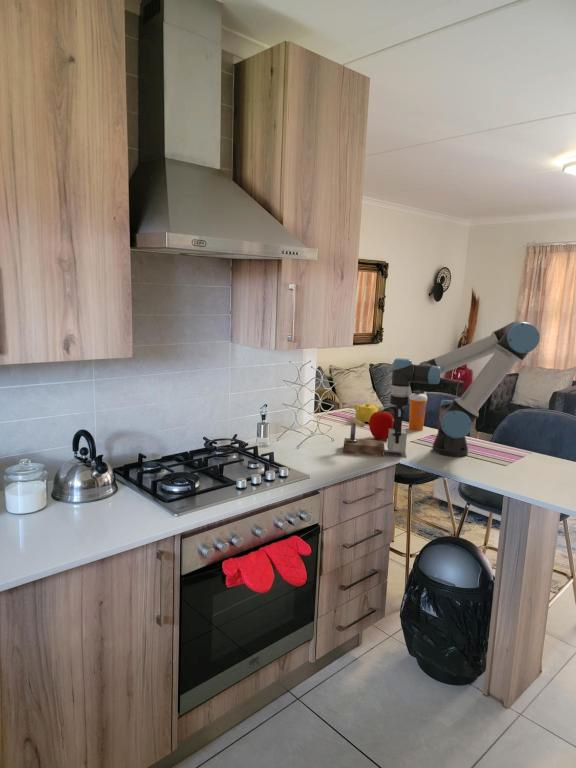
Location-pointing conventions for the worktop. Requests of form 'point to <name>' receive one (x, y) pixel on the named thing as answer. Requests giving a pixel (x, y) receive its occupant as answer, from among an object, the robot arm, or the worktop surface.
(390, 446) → the grey block
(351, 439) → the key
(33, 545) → the worktop surface
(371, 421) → the tomato
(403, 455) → the mat
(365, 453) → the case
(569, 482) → the worktop surface
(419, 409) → the shaker bottle
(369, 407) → the teapot
